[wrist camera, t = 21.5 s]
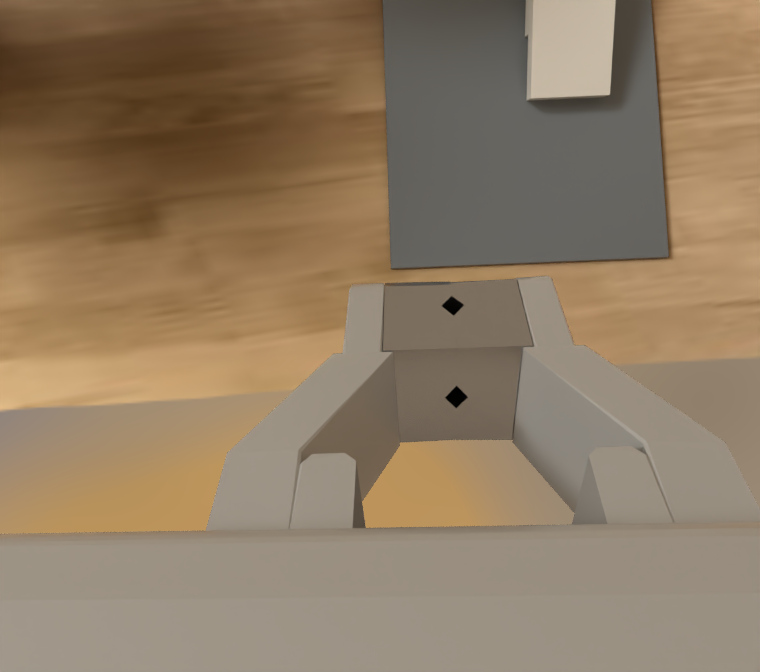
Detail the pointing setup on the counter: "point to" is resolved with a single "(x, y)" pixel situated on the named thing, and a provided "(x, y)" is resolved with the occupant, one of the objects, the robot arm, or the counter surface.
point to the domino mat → (516, 143)
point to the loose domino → (569, 49)
